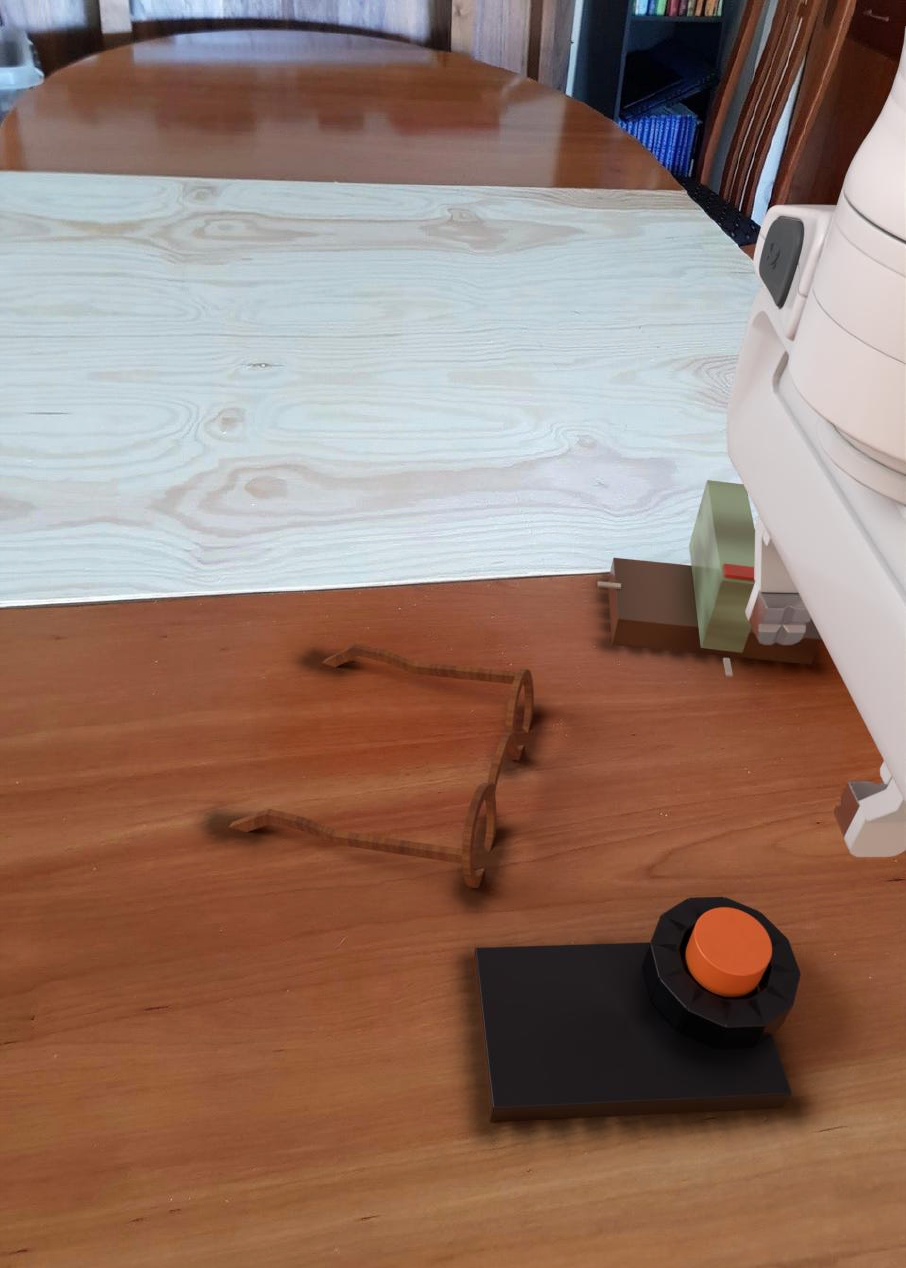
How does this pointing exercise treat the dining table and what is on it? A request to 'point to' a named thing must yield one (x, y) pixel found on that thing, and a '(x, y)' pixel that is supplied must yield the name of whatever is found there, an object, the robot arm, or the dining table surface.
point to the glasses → (482, 793)
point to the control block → (629, 1027)
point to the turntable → (678, 615)
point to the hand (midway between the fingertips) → (813, 725)
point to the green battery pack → (723, 565)
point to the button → (728, 952)
